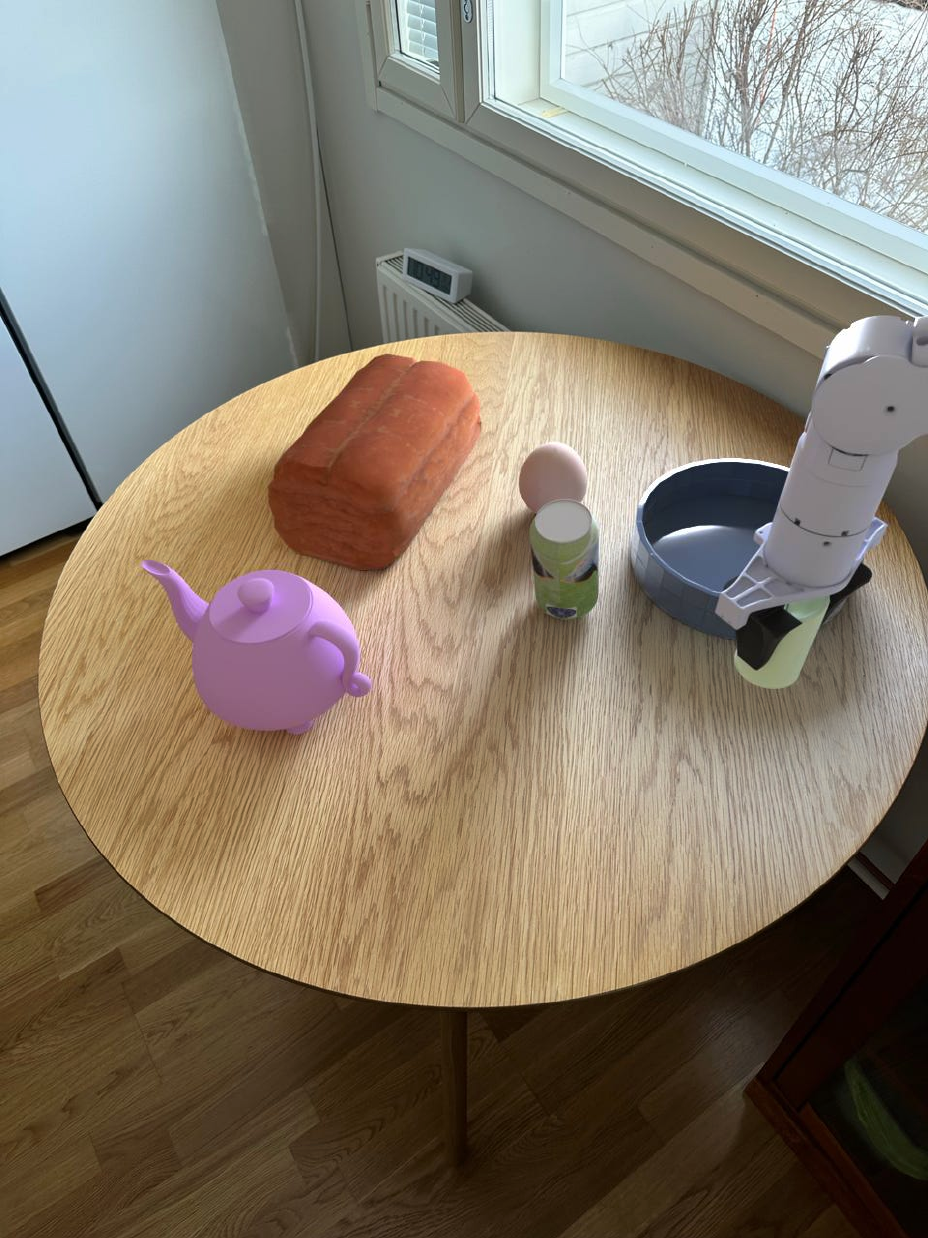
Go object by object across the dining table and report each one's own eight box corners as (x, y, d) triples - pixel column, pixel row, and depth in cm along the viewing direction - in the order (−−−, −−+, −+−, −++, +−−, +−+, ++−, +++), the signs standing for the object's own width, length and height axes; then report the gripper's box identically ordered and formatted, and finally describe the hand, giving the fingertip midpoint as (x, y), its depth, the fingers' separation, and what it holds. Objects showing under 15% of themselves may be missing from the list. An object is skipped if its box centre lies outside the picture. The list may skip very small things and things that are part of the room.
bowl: (838, 506, 88) (853, 468, 84) (860, 656, 74) (879, 619, 70) (637, 486, 91) (643, 449, 88) (622, 626, 77) (628, 589, 74)
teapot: (139, 711, 73) (86, 615, 63) (228, 603, 81) (193, 505, 72) (337, 782, 67) (310, 688, 58) (410, 657, 76) (397, 558, 66)
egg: (597, 504, 89) (603, 440, 83) (562, 541, 86) (566, 477, 79) (541, 482, 92) (543, 418, 86) (505, 516, 89) (505, 453, 83)
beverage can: (605, 590, 81) (617, 494, 72) (580, 642, 76) (590, 546, 67) (545, 573, 83) (550, 477, 74) (517, 623, 78) (519, 527, 69)
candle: (728, 679, 64) (752, 607, 58) (739, 634, 67) (762, 561, 61) (795, 697, 62) (826, 625, 56) (803, 650, 66) (833, 577, 59)
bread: (491, 435, 99) (490, 354, 91) (397, 582, 82) (385, 499, 75) (376, 411, 103) (365, 333, 96) (264, 546, 87) (240, 465, 79)
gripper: (850, 438, 58) (798, 576, 68) (699, 517, 53) (667, 654, 63) (938, 490, 54) (870, 628, 64) (784, 581, 49) (736, 716, 59)
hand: (774, 645), depth 63 cm, fingers closed on candle, 5 cm apart
